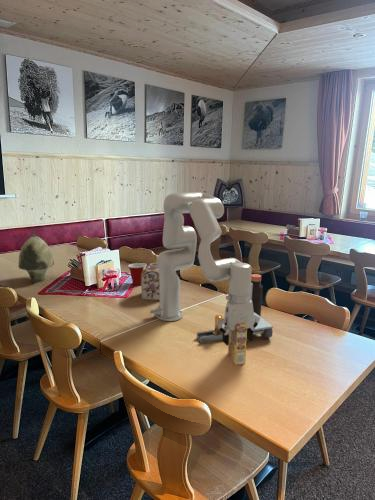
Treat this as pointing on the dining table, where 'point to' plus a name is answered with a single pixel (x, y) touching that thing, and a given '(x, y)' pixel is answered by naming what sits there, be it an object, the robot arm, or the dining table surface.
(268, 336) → the trolley
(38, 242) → the potted topiary
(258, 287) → the bottle
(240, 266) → the robot arm
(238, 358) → the candy box
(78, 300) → the dining table surface
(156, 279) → the decorative jar
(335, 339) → the dining table surface
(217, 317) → the stop pin
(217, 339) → the pin rail
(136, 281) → the plastic cup
